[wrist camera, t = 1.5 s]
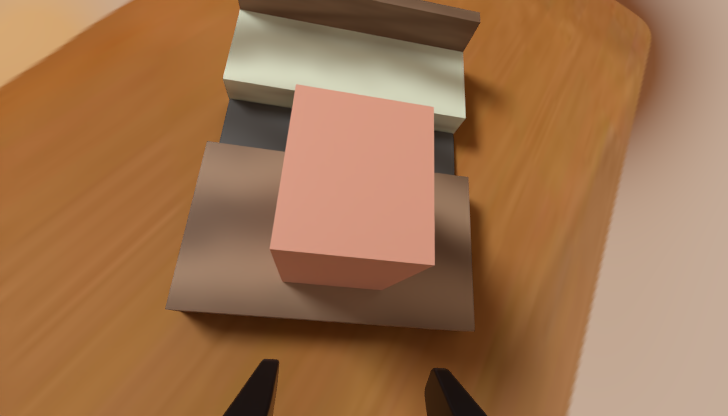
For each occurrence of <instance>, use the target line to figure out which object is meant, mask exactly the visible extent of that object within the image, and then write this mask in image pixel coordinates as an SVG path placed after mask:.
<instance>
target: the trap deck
mask: <svg viewBox="0 0 728 416" xmlns="http://www.w3.org/2000/svg"><path fill="white" fill-rule="evenodd" d="M238 1H239V6H240V12H239V16H238V20H237V24H236V28H235V32H234V36H233V40H232V44H231V48H230V52H229V56H228V60H227V64H226V68H225V72H224V76H223V81H224V84H225V87H226V90H227V94H228V97H229V104H228V108H227V113H226V117H225V121H224V125H223V130H222V134H221V138H220V142H219V143H217V142H210V141H207V144H206V148H205V152H204V156H203V160H202V164H201V168H200V172H199V176H198V180H197V184H196V188H195V192H194V196H193V200H192V204H191V208H190V212H189V216H188V220H187V224H186V228H185V232H184V236H183V240H182V244H181V248H180V252H179V256H178V260H177V264H176V268H175V272H174V276H173V280H172V284H171V288H170V292H169V296H168V300H167V304H166V308H165V309H168V310H175V311H184V312H197V313H211V314H225V315H239V316H253V317H267V318H281V319H295V320H309V321H323V322H337V323H351V324H365V325H379V326H393V327H407V328H421V329H435V330H449V331H475V323H474V300H473V276H472V253H471V229H470V206H469V183H468V177H463V176H456V175H454V140H453V134H454V133H455V131H456V130H457V129H458V128H459V126H460V125H461V124H462V122H463V121H464V120H465V119H466V113H465V89H464V66H463V51H464V49H465V48H466V46H467V44H468V43H469V41H470V39H471V38H472V36H473V34H474V32H475V31H476V29H477V27H478V26H479V24H480V13H479V12H474V11H470V10H465V9H460V8H455V7H451V6H446V5H441V4H436V3H432V2H427V1H422V0H238ZM296 84H298V85H304V86H310V87H316V88H322V89H328V90H334V91H340V92H347V93H353V94H359V95H365V96H371V97H377V98H383V99H389V100H395V101H401V102H407V103H413V104H419V105H425V106H431V107H434V218H435V265H434V266H432V267H430V268H428V269H426V270H424V271H422V272H420V273H417V274H415V275H413V276H411V277H409V278H407V279H405V280H403V281H400V282H398V283H396V284H394V285H392V286H390V287H388V288H386V289H383V290H372V289H361V288H349V287H337V286H326V285H314V284H303V283H291V282H282V280H281V277H280V275H279V272H278V269H277V267H276V264H275V262H274V259H273V257H272V254H271V252H270V243H271V237H272V230H273V224H274V218H275V212H276V205H277V199H278V193H279V187H280V181H281V174H282V168H283V162H284V156H285V149H286V143H287V137H288V131H289V124H290V118H291V112H292V106H293V99H294V93H295V87H296Z"/></svg>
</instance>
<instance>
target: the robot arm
mask: <svg viewBox="0 0 728 416" xmlns="http://www.w3.org/2000/svg"><path fill="white" fill-rule="evenodd" d="M278 371H279V361H278V360H276V359H264V360H262V361H261V363H260V364H259V365H258V367H257V368H256V370H255V371H254V372H253V374H252V375H251V377H250V378H249V379H248V381H247V382H246V384H245V385H244V387H243V388H242V389H241V391H240V392H239V394H238V395H237V396H236V398H235V399H234V401H233V402H232V404H231V405H230V406H229V408H228V409H227V411H226V412H225V413H224V415H223V416H273V410H274V404H275V397H276V390H277V382H278ZM425 403H426V411H427V416H487V415H486V414H485V412H484V411H483V410H482V409H481V408H480V406H479V405H478V404H477V403H476V402H475V401H474V399H473V398H472V397H471V396H470V395H469V393H468V392H467V391H466V390H465V389H464V388H463V386H462V385H461V384H460V383H459V382H458V380H457V379H456V378H455V377H454V376H453V375H452V373H451V372H450V371H449V370H447V369H445V368H433V369H432V370H431V373H430V375H429V378H428V381H427V384H426V387H425Z"/></svg>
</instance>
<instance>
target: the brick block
mask: <svg viewBox="0 0 728 416" xmlns="http://www.w3.org/2000/svg"><path fill="white" fill-rule="evenodd" d="M270 252H271V254H272V257H273V259H274V262H275V264H276V267H277V269H278V272H279V275H280V277H281V280H282V282H291V283H303V284H314V285H326V286H337V287H349V288H361V289H372V290H383V289H386V288H388V287H390V286H392V285H394V284H396V283H398V282H400V281H403V280H405V279H407V278H409V277H411V276H413V275H415V274H417V273H420V272H422V271H424V270H426V269H428V268H430V267H432V266H434V265H435V218H434V107H431V106H425V105H419V104H413V103H407V102H401V101H395V100H389V99H383V98H377V97H371V96H365V95H359V94H353V93H347V92H340V91H334V90H328V89H322V88H316V87H310V86H304V85H298V84H296V87H295V93H294V99H293V106H292V112H291V118H290V124H289V131H288V137H287V143H286V149H285V156H284V162H283V168H282V174H281V181H280V187H279V193H278V199H277V205H276V212H275V218H274V224H273V230H272V237H271V243H270Z"/></svg>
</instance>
